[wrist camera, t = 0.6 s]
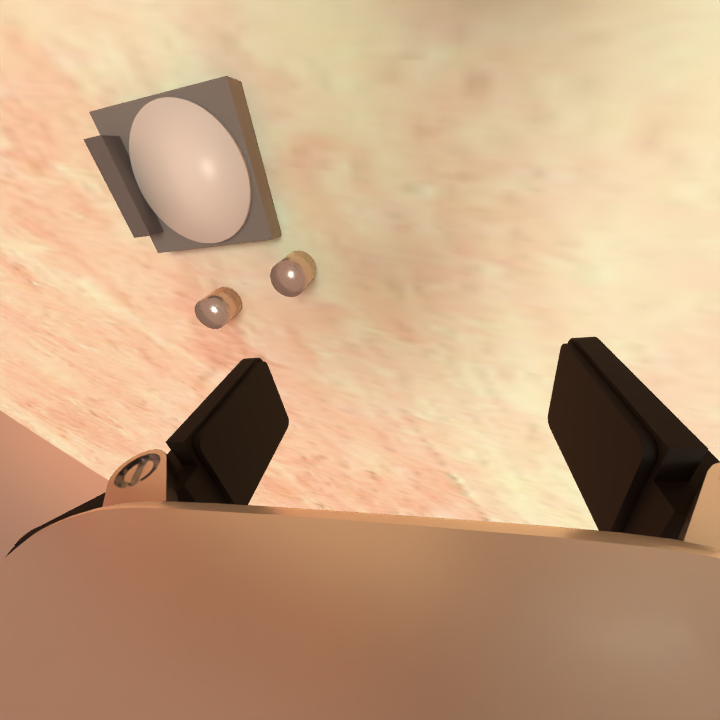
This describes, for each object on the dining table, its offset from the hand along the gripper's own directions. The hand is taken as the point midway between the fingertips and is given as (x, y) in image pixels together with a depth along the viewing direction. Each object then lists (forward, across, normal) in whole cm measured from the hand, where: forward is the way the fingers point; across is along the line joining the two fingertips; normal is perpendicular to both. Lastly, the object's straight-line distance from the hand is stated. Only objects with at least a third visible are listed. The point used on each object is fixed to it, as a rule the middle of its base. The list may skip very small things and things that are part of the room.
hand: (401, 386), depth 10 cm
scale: (+32, +26, -9) cm, 42 cm away
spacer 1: (+32, +29, +6) cm, 44 cm away
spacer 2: (+32, +16, +3) cm, 36 cm away
